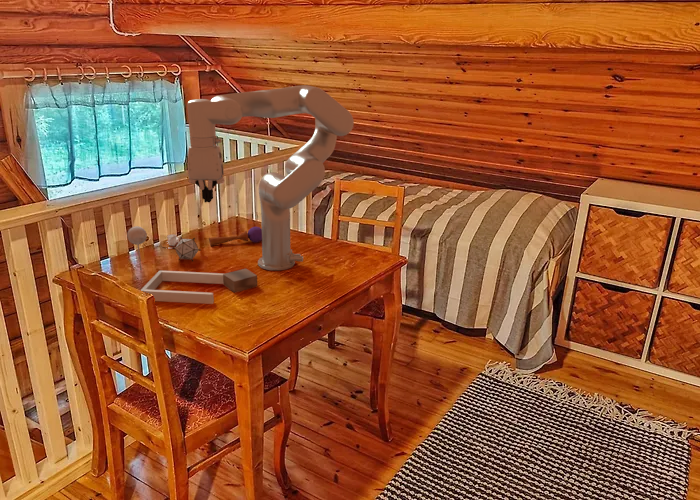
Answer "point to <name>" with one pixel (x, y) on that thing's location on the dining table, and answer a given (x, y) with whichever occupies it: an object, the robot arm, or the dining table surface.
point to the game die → (186, 249)
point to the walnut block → (240, 280)
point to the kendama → (239, 237)
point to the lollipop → (137, 237)
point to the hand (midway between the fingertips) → (208, 201)
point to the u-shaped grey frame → (182, 295)
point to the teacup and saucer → (172, 240)
